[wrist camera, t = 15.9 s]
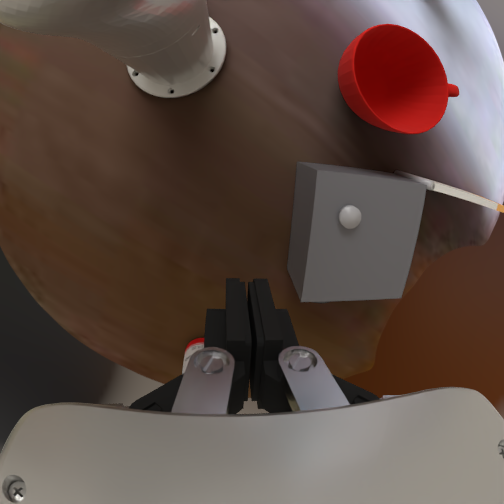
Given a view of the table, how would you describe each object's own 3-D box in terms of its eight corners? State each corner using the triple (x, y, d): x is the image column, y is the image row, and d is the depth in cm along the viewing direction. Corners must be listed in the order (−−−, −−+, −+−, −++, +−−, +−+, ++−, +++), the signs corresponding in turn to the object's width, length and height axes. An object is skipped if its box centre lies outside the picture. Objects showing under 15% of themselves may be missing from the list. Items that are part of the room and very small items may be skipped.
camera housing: (297, 161, 36) (319, 171, 27) (390, 172, 38) (430, 186, 29) (285, 277, 43) (300, 316, 34) (371, 277, 44) (400, 310, 35)
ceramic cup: (427, 135, 36) (472, 141, 26) (325, 131, 35) (357, 131, 26) (420, 55, 31) (463, 45, 21) (316, 39, 30) (344, 14, 21)
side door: (392, 177, 37) (426, 189, 30) (394, 169, 37) (428, 179, 29) (482, 203, 40) (513, 217, 32) (483, 196, 40) (515, 210, 32)
